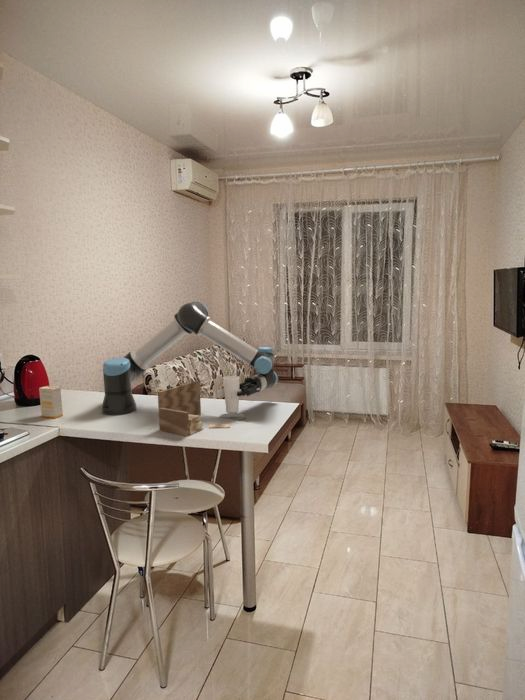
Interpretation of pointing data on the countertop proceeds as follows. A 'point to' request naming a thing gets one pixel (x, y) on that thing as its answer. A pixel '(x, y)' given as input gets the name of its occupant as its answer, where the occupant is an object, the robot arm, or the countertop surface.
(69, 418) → the countertop surface
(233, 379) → the drinking glass
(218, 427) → the offcut flat
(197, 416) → the offcut upper
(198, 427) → the offcut lower
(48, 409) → the supplement box
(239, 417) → the coaster
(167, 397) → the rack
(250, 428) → the countertop surface
